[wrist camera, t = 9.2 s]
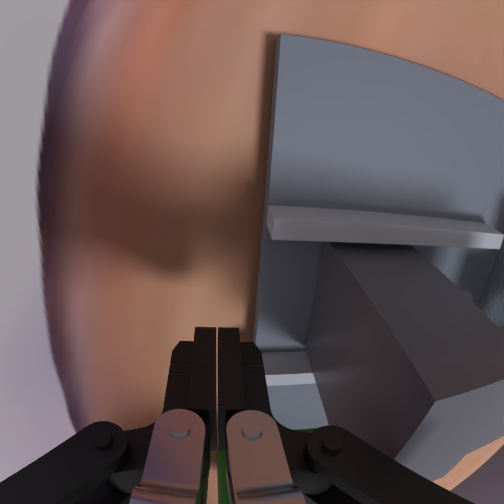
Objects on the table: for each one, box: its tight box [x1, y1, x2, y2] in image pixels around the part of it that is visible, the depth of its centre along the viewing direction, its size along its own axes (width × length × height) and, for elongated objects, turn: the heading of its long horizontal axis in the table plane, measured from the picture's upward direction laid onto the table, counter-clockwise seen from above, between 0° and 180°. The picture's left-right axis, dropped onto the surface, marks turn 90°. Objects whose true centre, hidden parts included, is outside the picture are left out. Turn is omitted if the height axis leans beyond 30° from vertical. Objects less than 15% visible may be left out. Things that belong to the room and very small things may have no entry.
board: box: [253, 34, 504, 430], centre depth 16 cm, size 22×30×3 cm
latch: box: [305, 242, 504, 481], centre depth 11 cm, size 6×9×9 cm, turn 86°
